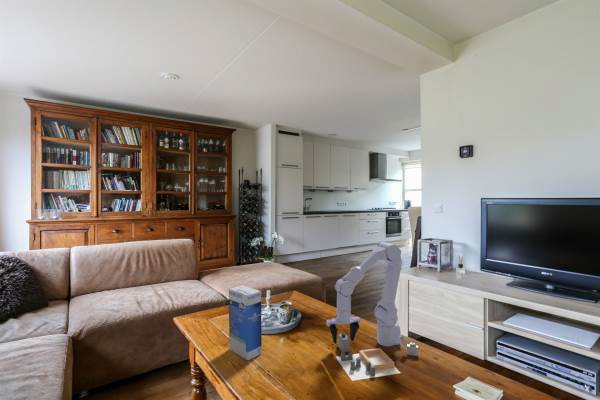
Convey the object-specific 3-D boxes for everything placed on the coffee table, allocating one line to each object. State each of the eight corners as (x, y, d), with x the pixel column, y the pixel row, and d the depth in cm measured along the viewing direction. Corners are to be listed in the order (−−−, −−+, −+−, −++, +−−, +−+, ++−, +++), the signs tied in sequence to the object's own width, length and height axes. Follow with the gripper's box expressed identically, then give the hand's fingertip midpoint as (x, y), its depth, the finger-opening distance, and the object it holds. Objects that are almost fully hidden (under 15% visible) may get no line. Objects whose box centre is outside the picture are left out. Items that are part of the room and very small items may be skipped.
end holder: (379, 352, 122) (379, 347, 122) (394, 367, 112) (394, 362, 112) (359, 355, 120) (359, 350, 120) (372, 371, 109) (372, 365, 109)
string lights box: (262, 354, 123) (262, 291, 122) (247, 361, 117) (247, 295, 117) (242, 343, 132) (242, 284, 131) (227, 349, 126) (227, 288, 126)
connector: (344, 347, 128) (344, 331, 128) (349, 353, 123) (349, 336, 123) (338, 348, 128) (338, 331, 127) (342, 354, 123) (342, 337, 123)
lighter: (417, 356, 121) (417, 336, 121) (418, 358, 120) (418, 338, 120) (399, 353, 124) (399, 333, 123) (399, 355, 122) (399, 335, 122)
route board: (378, 352, 124) (378, 343, 124) (400, 375, 108) (401, 364, 108) (335, 358, 119) (335, 349, 119) (352, 383, 104) (352, 372, 104)
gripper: (355, 304, 131) (355, 335, 131) (324, 306, 127) (323, 338, 127) (363, 310, 124) (362, 342, 124) (329, 313, 120) (329, 346, 121)
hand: (343, 341), depth 125 cm, fingers open, 7 cm apart
